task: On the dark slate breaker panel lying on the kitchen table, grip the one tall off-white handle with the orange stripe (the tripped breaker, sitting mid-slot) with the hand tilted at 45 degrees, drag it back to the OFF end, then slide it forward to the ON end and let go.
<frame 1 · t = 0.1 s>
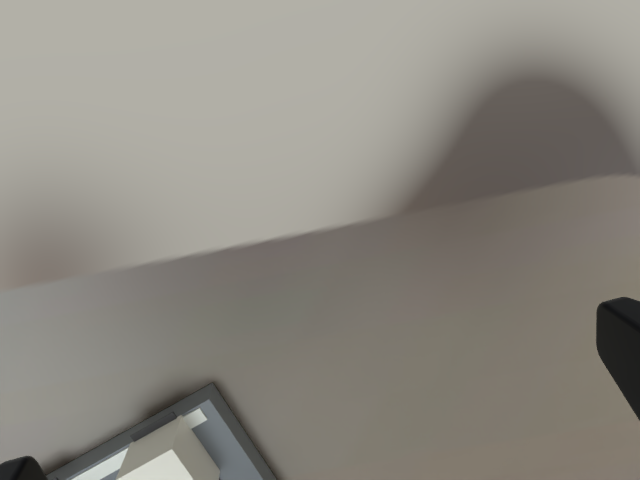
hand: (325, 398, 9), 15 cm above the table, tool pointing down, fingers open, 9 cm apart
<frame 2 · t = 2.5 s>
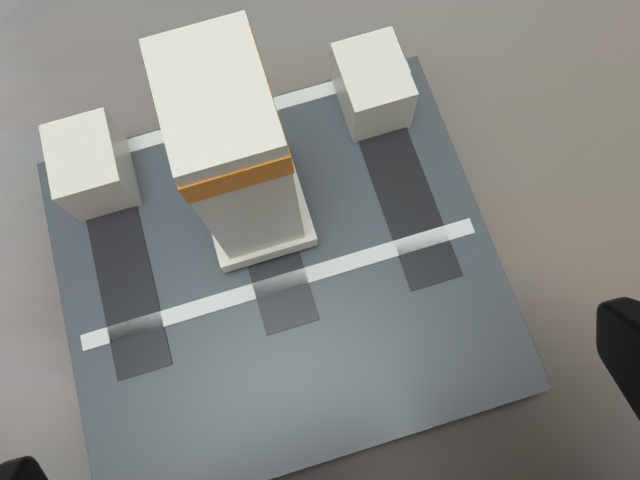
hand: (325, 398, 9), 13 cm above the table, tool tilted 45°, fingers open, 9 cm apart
tripped breaker handle: (238, 160, 19), point 6 cm above the table, slide at 0.0 cm
breaker panel: (280, 277, 24), on the table
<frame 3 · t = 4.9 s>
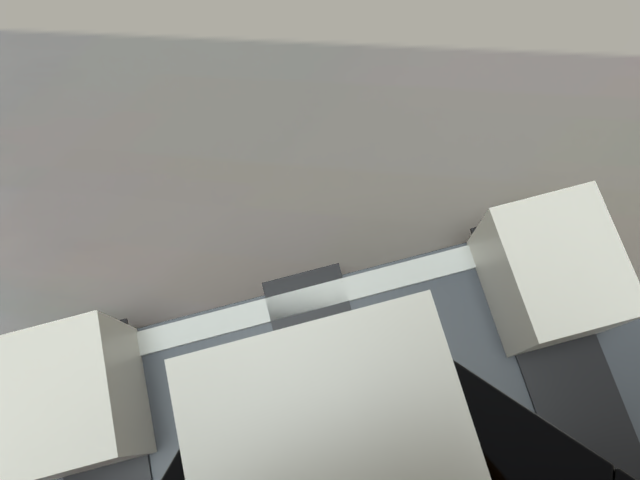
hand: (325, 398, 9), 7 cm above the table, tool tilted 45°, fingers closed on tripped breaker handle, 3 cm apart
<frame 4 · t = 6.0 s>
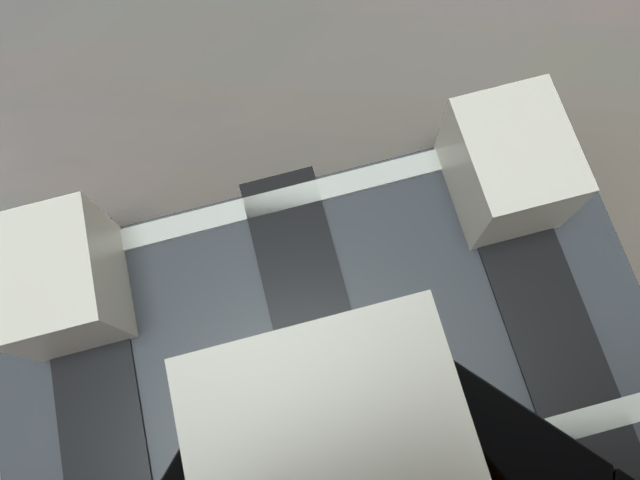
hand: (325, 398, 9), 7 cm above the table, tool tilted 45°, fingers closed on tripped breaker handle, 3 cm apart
breaker panel: (347, 454, 15), on the table
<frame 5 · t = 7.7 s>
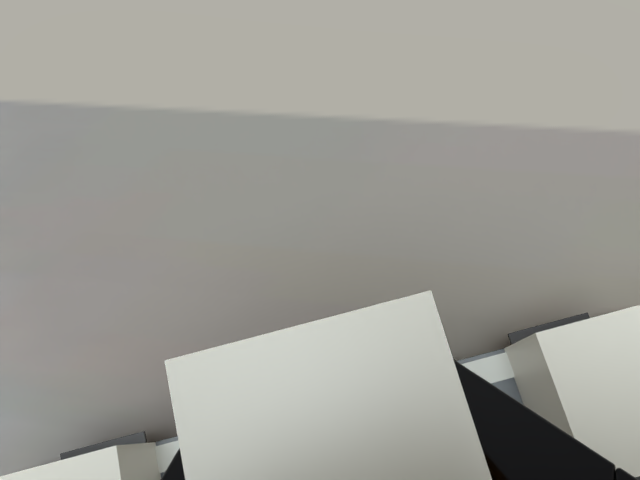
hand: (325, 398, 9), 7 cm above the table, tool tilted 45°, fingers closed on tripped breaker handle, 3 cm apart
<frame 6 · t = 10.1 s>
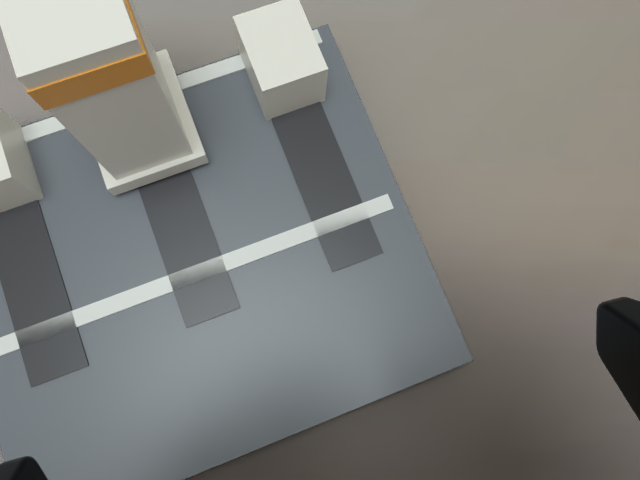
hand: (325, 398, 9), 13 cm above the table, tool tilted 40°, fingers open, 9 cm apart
tripped breaker handle: (108, 71, 18), point 6 cm above the table, slide at 2.8 cm
breaker panel: (199, 265, 23), on the table
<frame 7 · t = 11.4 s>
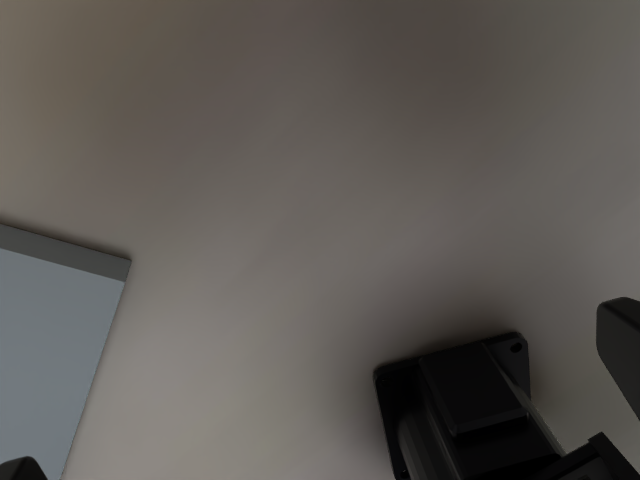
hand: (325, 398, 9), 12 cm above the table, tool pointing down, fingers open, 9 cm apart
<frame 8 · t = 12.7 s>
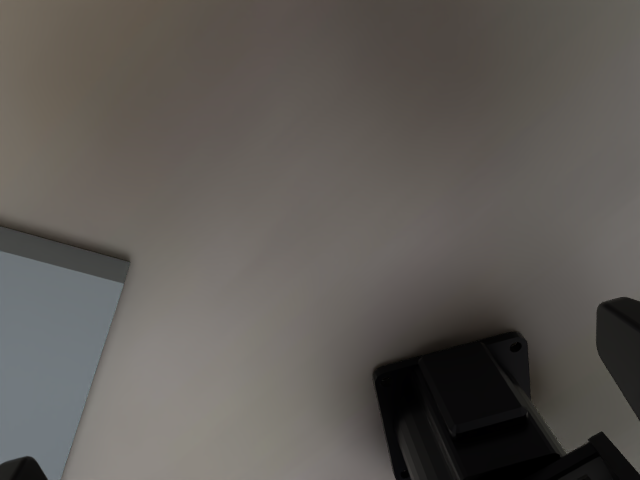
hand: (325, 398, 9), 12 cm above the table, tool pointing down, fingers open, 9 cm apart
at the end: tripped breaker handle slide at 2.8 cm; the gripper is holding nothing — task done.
